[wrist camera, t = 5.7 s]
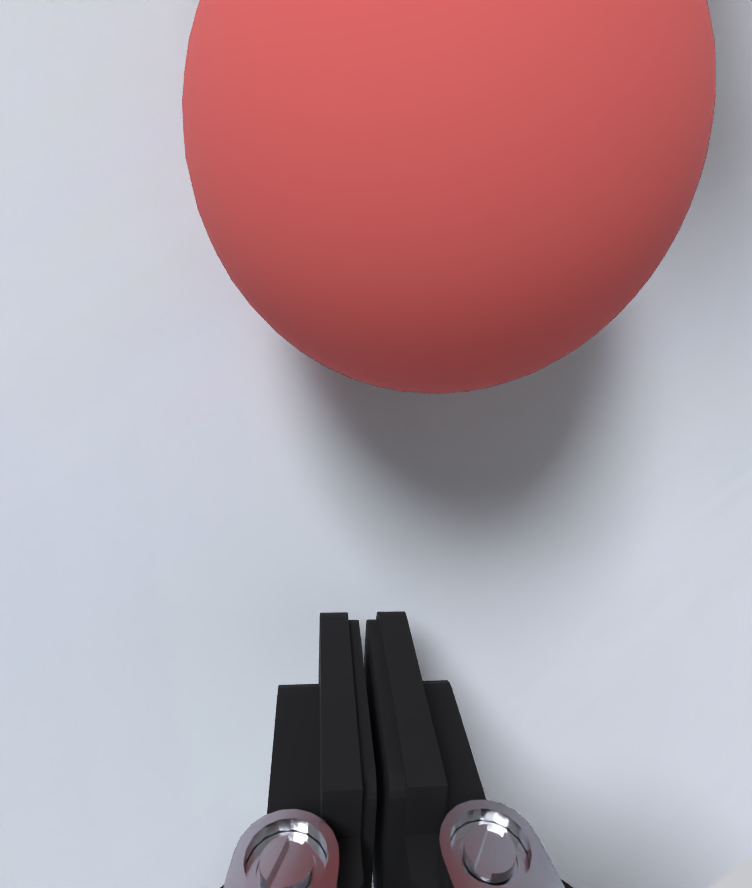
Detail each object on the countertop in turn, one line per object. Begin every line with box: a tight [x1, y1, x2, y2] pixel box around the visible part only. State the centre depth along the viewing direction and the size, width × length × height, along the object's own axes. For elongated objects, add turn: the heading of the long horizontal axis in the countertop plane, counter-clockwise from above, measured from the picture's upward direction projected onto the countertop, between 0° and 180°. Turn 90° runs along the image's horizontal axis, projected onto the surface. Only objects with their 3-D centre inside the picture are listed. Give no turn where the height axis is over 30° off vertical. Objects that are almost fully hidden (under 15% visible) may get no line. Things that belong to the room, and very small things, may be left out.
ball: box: [182, 0, 715, 393], centre depth 7 cm, size 6×6×6 cm
